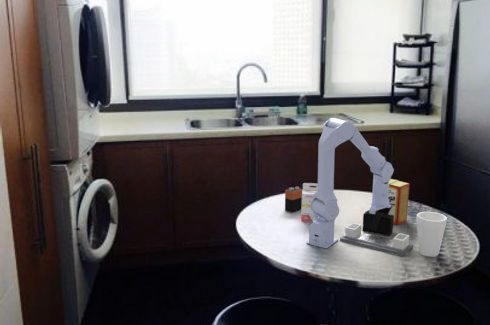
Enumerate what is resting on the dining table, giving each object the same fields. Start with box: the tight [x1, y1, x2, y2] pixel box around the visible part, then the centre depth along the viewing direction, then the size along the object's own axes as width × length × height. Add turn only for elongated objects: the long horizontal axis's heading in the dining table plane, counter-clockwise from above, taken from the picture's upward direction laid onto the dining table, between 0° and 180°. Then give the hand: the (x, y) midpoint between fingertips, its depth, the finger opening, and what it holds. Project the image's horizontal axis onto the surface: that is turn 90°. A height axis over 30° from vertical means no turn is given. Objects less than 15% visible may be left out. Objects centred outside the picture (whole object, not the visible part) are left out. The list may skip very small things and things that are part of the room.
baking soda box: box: [388, 178, 410, 226], centre depth 197 cm, size 10×6×16 cm
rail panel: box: [339, 231, 414, 257], centre depth 176 cm, size 10×23×2 cm, turn 54°
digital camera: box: [362, 210, 394, 237], centre depth 187 cm, size 10×5×7 cm, turn 58°
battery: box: [284, 186, 303, 214], centre depth 210 cm, size 4×7×10 cm, turn 129°
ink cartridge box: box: [300, 182, 318, 223], centre depth 198 cm, size 9×5×15 cm, turn 84°
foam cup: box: [415, 211, 448, 258], centre depth 167 cm, size 10×9×13 cm
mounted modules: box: [344, 222, 410, 249], centre depth 176 cm, size 6×21×3 cm, turn 54°
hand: (378, 226), depth 188 cm, fingers open, 7 cm apart
